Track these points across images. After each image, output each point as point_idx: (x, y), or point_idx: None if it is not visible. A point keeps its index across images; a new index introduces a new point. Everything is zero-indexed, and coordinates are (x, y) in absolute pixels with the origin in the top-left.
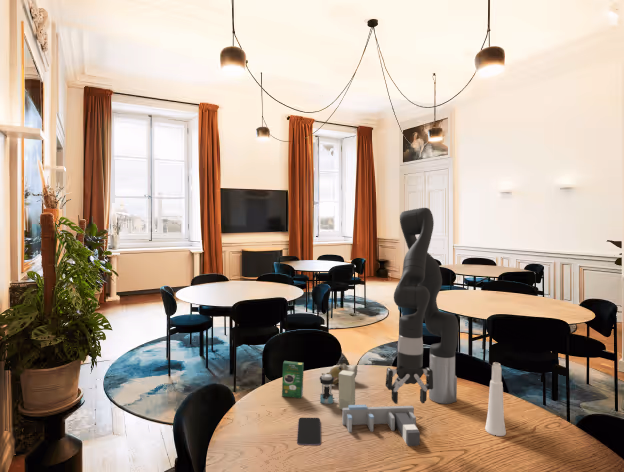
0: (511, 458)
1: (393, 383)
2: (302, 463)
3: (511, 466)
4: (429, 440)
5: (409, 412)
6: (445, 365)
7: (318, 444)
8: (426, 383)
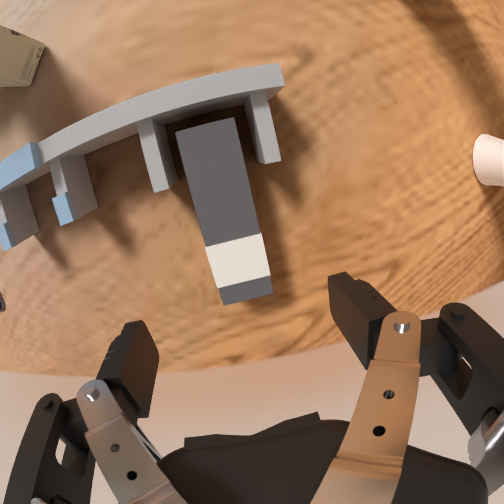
0: (462, 277)
1: (86, 421)
2: (15, 365)
3: None
4: (308, 230)
5: (254, 111)
6: None
7: (2, 309)
8: (449, 332)
